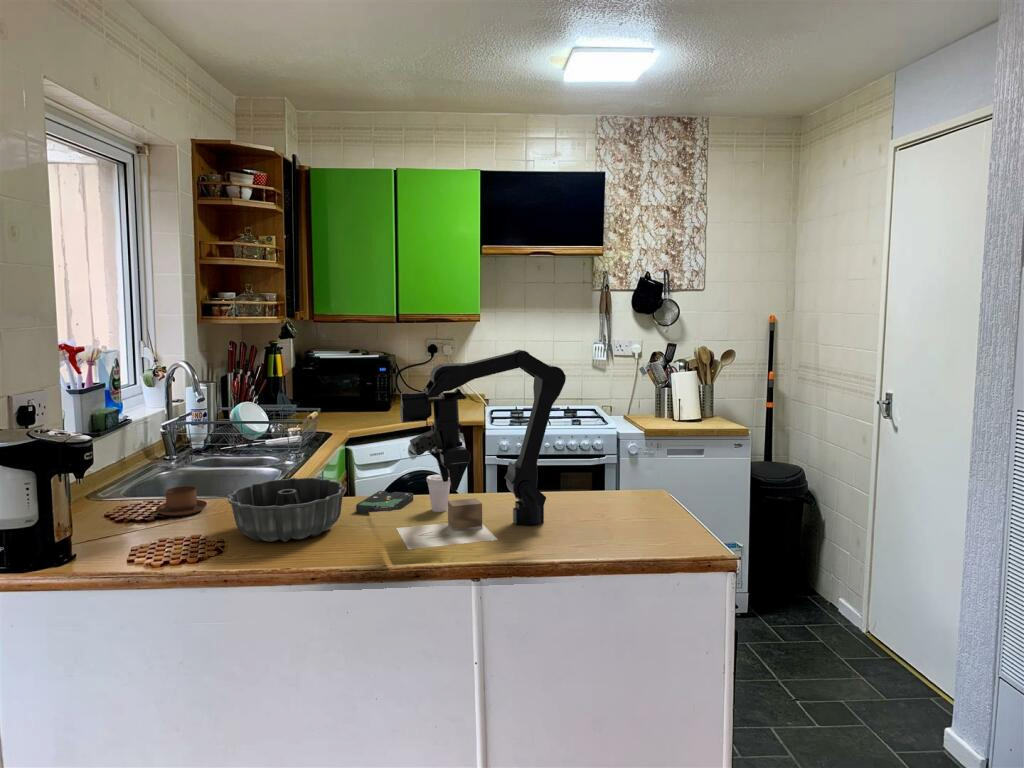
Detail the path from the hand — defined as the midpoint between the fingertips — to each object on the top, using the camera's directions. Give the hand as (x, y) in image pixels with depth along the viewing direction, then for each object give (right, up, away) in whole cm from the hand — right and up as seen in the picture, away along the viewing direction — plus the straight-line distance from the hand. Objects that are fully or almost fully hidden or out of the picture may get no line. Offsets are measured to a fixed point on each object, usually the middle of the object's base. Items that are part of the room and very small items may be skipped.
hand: (449, 486), depth 171 cm
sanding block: (+3, -10, +3) cm, 11 cm away
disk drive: (-19, -10, +25) cm, 33 cm away
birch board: (-1, -12, -2) cm, 12 cm away
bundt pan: (-39, -12, +5) cm, 41 cm away
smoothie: (-4, -10, +18) cm, 21 cm away
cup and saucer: (-71, -10, +21) cm, 75 cm away
